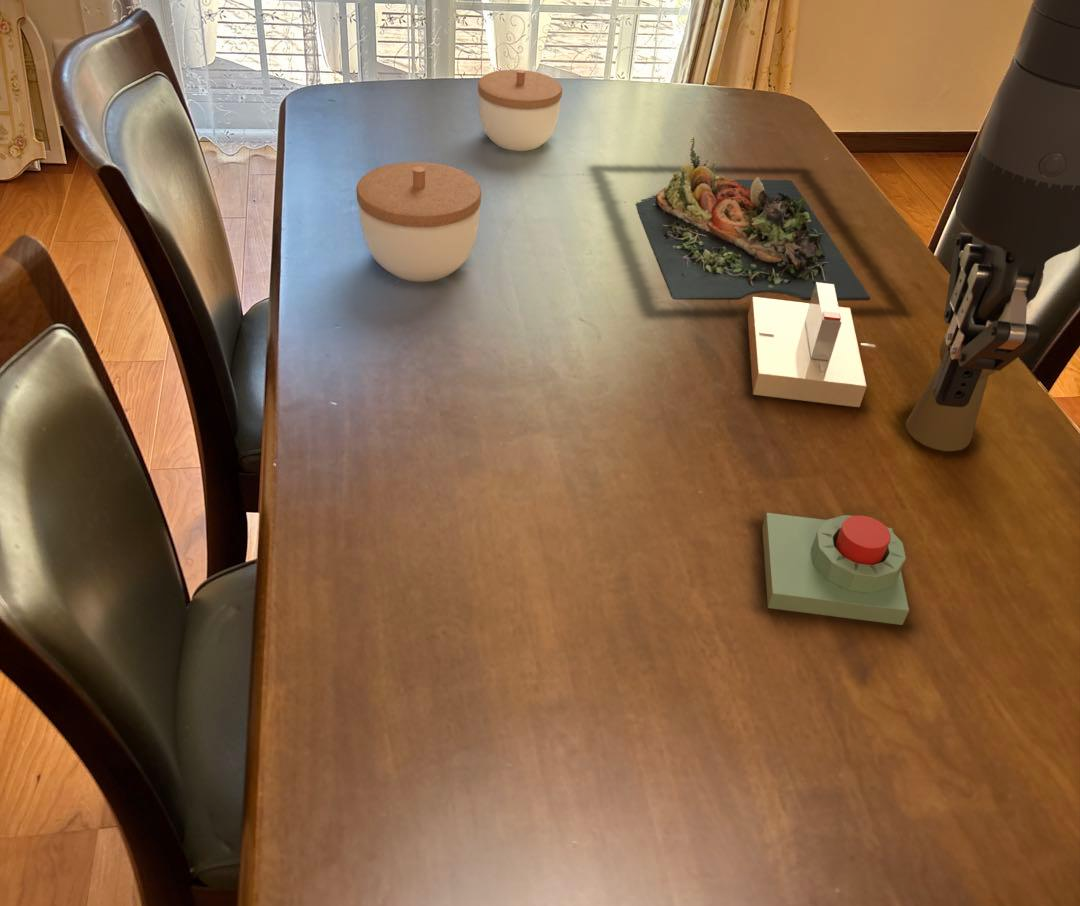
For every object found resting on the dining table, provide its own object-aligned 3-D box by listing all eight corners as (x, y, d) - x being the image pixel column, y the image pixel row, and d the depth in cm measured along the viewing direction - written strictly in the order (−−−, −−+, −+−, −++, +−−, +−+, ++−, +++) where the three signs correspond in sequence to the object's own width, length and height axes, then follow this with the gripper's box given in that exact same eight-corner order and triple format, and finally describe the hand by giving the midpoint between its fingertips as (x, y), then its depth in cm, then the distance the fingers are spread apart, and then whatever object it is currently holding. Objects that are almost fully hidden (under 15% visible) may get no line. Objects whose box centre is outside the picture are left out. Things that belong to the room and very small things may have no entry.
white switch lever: (805, 319, 102) (816, 279, 99) (823, 321, 102) (835, 281, 99) (810, 358, 97) (822, 317, 94) (829, 360, 97) (842, 319, 93)
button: (880, 535, 78) (887, 518, 77) (886, 568, 76) (894, 551, 74) (833, 529, 78) (839, 512, 77) (838, 561, 76) (844, 545, 74)
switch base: (857, 334, 106) (866, 308, 104) (874, 414, 96) (885, 387, 94) (746, 321, 106) (752, 294, 104) (751, 399, 96) (758, 371, 94)
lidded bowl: (338, 259, 110) (331, 159, 103) (435, 230, 116) (435, 134, 109) (403, 311, 103) (400, 208, 96) (502, 278, 110) (507, 178, 102)
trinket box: (512, 169, 130) (516, 93, 123) (460, 139, 135) (460, 65, 128) (574, 149, 135) (580, 76, 129) (521, 122, 140) (525, 50, 134)
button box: (884, 547, 83) (899, 511, 80) (900, 630, 76) (917, 593, 73) (760, 532, 83) (771, 495, 80) (765, 613, 76) (778, 576, 74)
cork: (962, 420, 96) (1007, 318, 89) (975, 460, 92) (1024, 357, 84) (897, 413, 96) (937, 311, 89) (908, 453, 92) (950, 349, 84)
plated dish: (591, 173, 130) (598, 116, 125) (799, 177, 135) (814, 122, 129) (651, 324, 105) (662, 260, 100) (904, 323, 110) (927, 261, 105)
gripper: (1153, 210, 53) (1026, 467, 65) (1082, 112, 63) (983, 352, 75) (1006, 196, 53) (907, 454, 65) (959, 101, 63) (880, 341, 75)
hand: (948, 399), depth 70 cm, fingers closed
